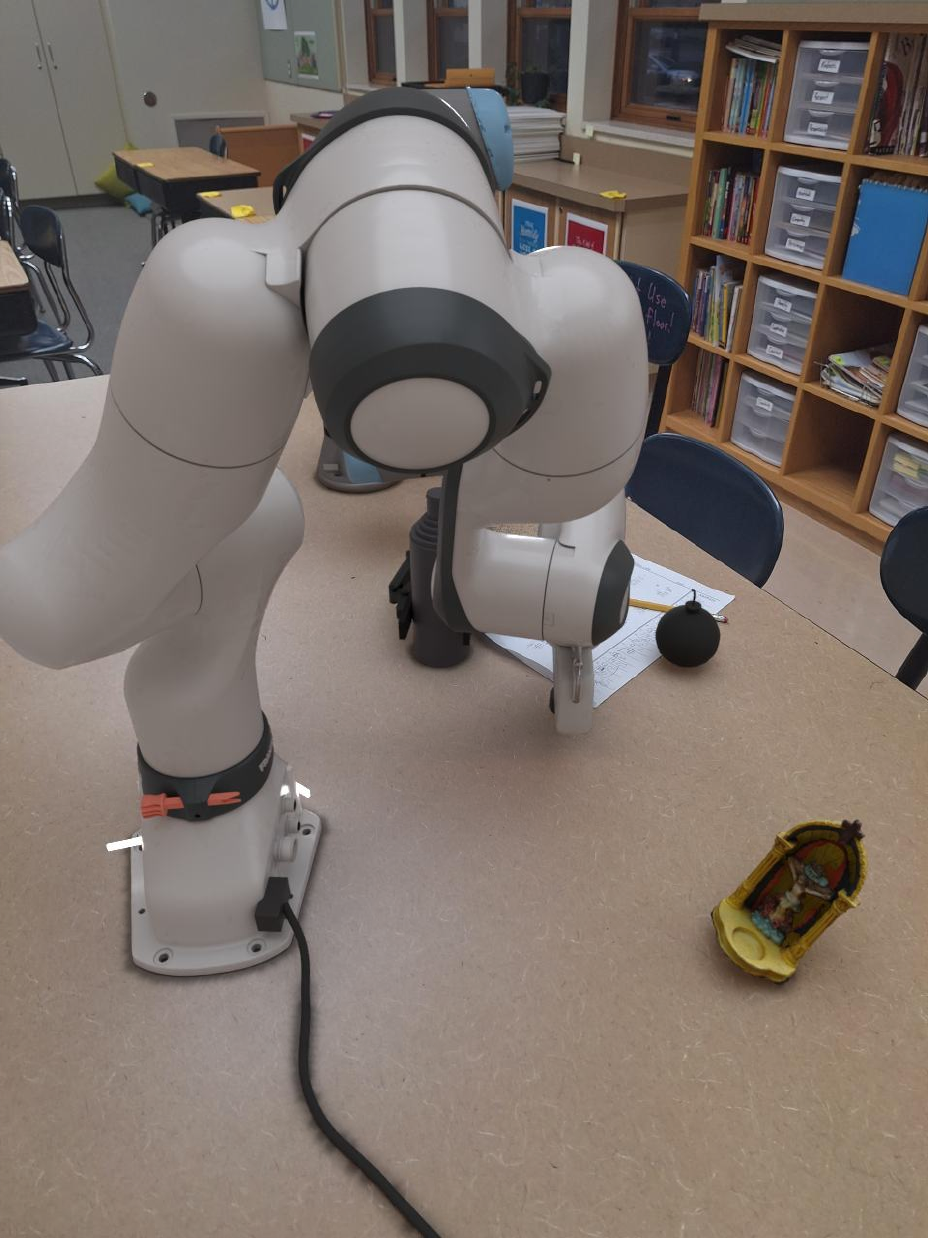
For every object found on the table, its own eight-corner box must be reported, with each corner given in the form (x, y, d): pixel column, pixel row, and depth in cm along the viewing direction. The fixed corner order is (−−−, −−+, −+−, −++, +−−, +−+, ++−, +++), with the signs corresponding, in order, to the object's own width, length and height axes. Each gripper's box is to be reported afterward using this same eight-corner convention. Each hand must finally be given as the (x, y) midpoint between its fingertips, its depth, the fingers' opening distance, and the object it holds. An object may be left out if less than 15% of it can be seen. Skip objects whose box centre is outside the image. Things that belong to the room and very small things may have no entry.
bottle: (469, 667, 110) (471, 506, 96) (413, 668, 109) (407, 508, 96) (467, 633, 115) (468, 477, 102) (413, 634, 115) (407, 478, 102)
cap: (585, 698, 101) (586, 683, 100) (583, 721, 98) (585, 706, 96) (550, 694, 101) (551, 680, 100) (547, 717, 98) (549, 703, 97)
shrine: (791, 892, 81) (830, 781, 73) (851, 966, 75) (901, 853, 66) (686, 929, 78) (714, 817, 69) (739, 1009, 72) (776, 896, 63)
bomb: (664, 635, 115) (676, 558, 108) (722, 654, 111) (739, 576, 104) (642, 667, 109) (654, 588, 102) (703, 688, 106) (720, 608, 99)
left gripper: (612, 673, 83) (599, 775, 91) (598, 562, 100) (588, 656, 108) (546, 671, 83) (540, 772, 91) (543, 560, 100) (538, 654, 108)
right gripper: (530, 566, 124) (515, 665, 106) (393, 556, 126) (355, 651, 108) (532, 521, 120) (517, 615, 101) (391, 511, 122) (350, 601, 104)
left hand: (566, 708), depth 100 cm, fingers closed on cap, 4 cm apart
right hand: (433, 633), depth 105 cm, fingers closed on bottle, 7 cm apart
